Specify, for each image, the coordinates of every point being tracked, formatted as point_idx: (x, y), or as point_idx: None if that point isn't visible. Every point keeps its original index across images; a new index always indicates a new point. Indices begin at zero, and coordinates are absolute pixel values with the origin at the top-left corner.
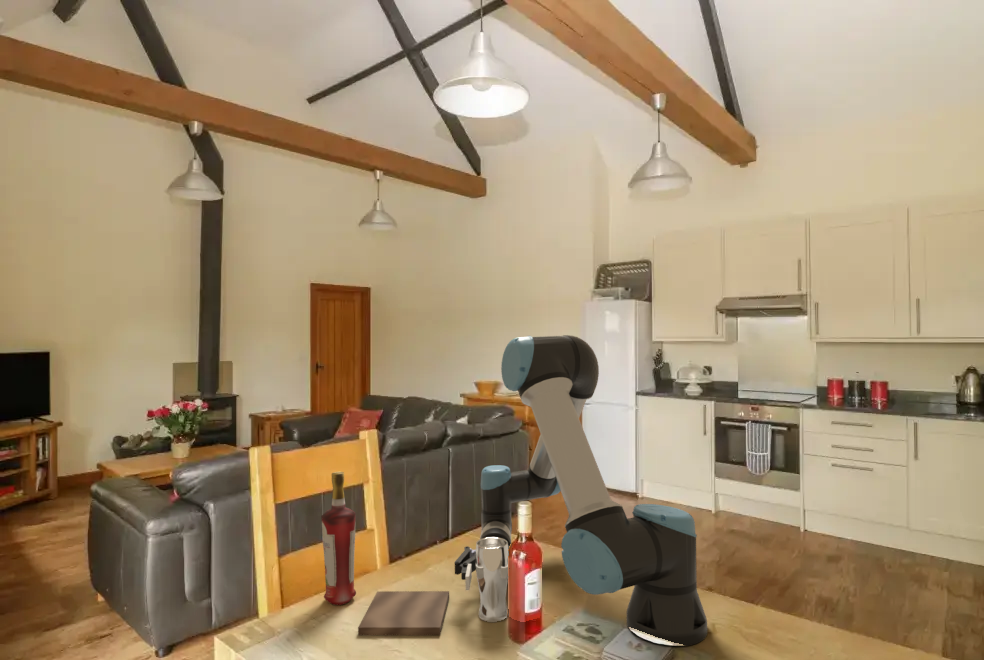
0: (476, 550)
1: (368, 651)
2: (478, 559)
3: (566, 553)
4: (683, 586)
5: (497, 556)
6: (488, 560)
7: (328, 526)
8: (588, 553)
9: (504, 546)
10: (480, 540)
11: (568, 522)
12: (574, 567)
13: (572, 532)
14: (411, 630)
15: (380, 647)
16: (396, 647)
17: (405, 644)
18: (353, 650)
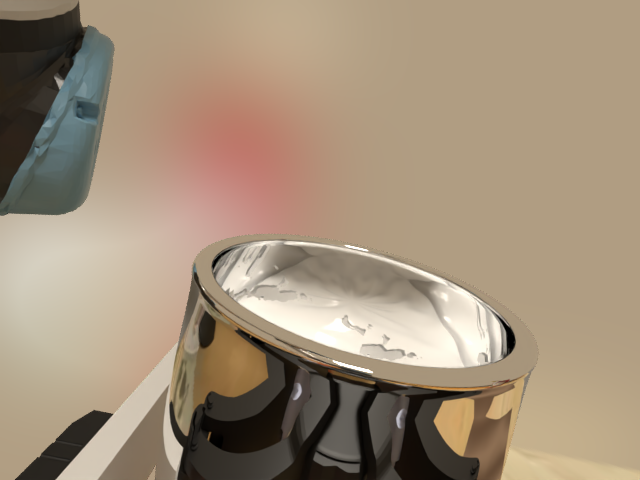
0: (465, 335)
1: (587, 461)
2: (421, 356)
3: (99, 120)
4: None
5: (300, 286)
6: (350, 314)
7: None
8: (107, 94)
9: (256, 237)
10: (514, 347)
11: (77, 1)
12: (94, 153)
13: (112, 43)
14: None
15: (576, 474)
16: (536, 466)
17: (525, 476)
18: (627, 472)
